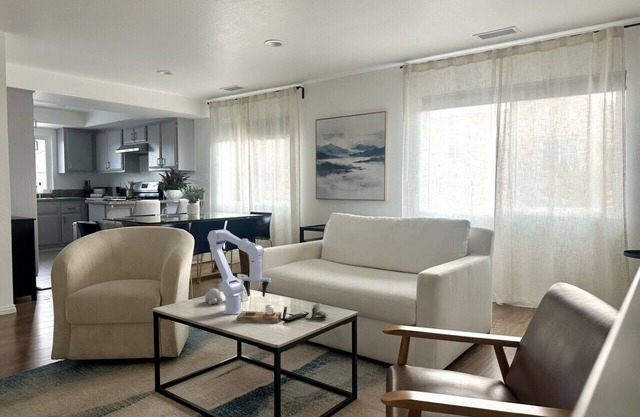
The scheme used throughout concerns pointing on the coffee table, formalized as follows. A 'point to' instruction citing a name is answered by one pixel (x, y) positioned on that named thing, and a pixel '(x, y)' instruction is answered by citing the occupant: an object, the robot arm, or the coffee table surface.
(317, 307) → the artificial flower
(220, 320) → the coffee table surface
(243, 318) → the wooden board with recesses
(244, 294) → the ink cartridge box
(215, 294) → the round bodied animal figurine
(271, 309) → the steel peg
